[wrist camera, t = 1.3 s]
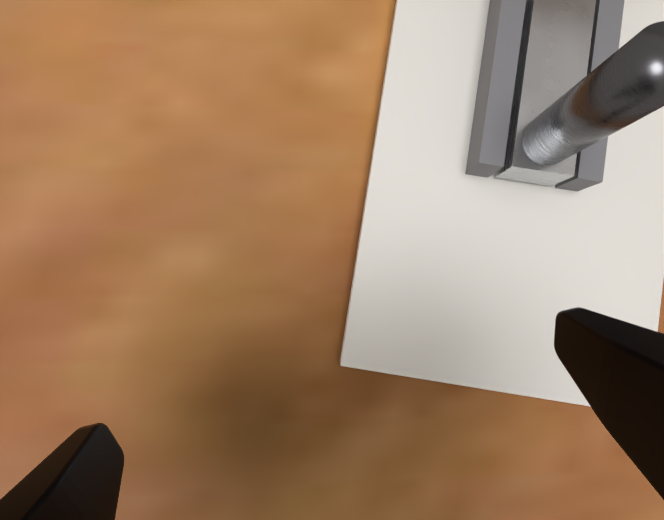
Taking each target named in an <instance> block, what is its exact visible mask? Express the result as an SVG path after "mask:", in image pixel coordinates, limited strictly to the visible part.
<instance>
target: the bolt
mask: <svg viewBox="0 0 664 520" xmlns="http://www.w3.org/2000/svg"><path fill="white" fill-rule="evenodd" d="M595 5H596V0H526V6H525V13H524V20H523V28H522V35H521V42H520V50H519V57H518V64H517V72H516V79H515V87H514V94H513V101H512V109H511V116H510V123H509V131H508V138H507V145H506V153H505V160H504V167H502V168H501V169H499V170H498V171H497V172H495V178H501V179H508V180H514V181H521V182H527V183H533V184H540V185H546V186H553V185H555V184H558V183H560V182H562V181H564V180H566V179H569V178H571V177H573V176H574V173H575V165H576V157H577V153H578V152H580V151H582V150H583V149H585V148H587V147H589V146H591V145H593V144H595V143H596V142H598V141H600V140H602V139H604V138H606V137H608V136H609V135H611V134H613V133H615V132H617V131H619V130H621V129H622V128H624V127H626V126H628V125H630V124H632V123H634V122H635V121H637V120H639V119H641V118H643V117H645V116H647V115H648V114H650V113H652V112H654V111H656V110H658V109H660V108H661V107H663V106H664V21H661V22H656V23H653V24H651V25H649V26H647V27H645V28H644V29H643V30H641V31H640V32H639V33H638V34H637V35H635V36H634V37H633V38H632V39H630V40H629V41H628V42H627V43H626V44H624V45H623V46H622V47H621V48H620V49H618V50H617V51H616V52H615V53H613V54H612V55H611V56H610V57H609V58H607V59H606V60H605V61H604V62H603V63H601V64H600V65H599V66H598V67H596V68H595V69H594V70H593V71H592V72H590V73H589V74H588V75H587V69H588V61H589V53H590V45H591V37H592V29H593V21H594V13H595Z"/></svg>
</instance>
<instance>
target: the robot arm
mask: <svg viewBox="0 0 664 520" xmlns="http://www.w3.org/2000/svg"><path fill="white" fill-rule="evenodd" d="M554 349H555V352H556V354H557V356H558V358H559V359H560V361H561V362H562V364H563V365H564V367H565V368H566V370H567V371H568V373H569V374H570V376H571V377H572V379H573V381H574V382H575V384H576V385H577V387H578V388H579V390H580V391H581V393H582V394H583V396H584V397H585V399H586V400H587V402H588V403H589V405H590V406H591V408H592V409H593V411H594V412H595V414H596V415H597V417H598V418H599V419H600V421H601V422H602V424H603V425H604V426H605V428H606V429H607V430H608V431H609V433H610V434H611V435H612V437H613V438H614V439H615V440H616V442H617V443H618V444H619V445H620V446H621V448H622V449H623V450H624V451H625V453H626V454H627V455H628V456H629V458H630V459H631V460H632V461H633V462H634V464H635V465H636V466H637V467H638V469H639V470H640V471H641V472H642V474H643V475H644V476H645V477H646V479H647V480H648V481H649V482H650V483H651V485H652V486H653V487H654V488H655V490H656V491H657V492H658V493H659V495H660V496H661V497H662V498H663V500H664V334H663V333H660V332H657V331H653V330H650V329H647V328H644V327H641V326H638V325H635V324H631V323H628V322H625V321H622V320H619V319H616V318H613V317H610V316H606V315H603V314H600V313H597V312H594V311H591V310H588V309H584V308H581V307H575V308H571V309H567V310H563V311H560V312H558V314H557V315H556V319H555V333H554ZM123 466H124V454H123V451H122V449H121V447H120V446H119V444H118V442H117V441H116V439H115V438H114V436H113V435H112V433H111V432H110V430H109V428H108V427H107V426H106V425H105V424H103V423H96V424H92V425H88V426H84V427H81V428H79V429H77V430H76V431H75V432H74V433H73V434H72V435H71V436H70V437H68V438H67V439H66V440H65V441H64V442H63V443H62V444H61V445H60V446H59V447H57V448H56V449H55V450H54V451H53V452H52V453H51V454H50V455H49V456H48V457H47V458H45V459H44V460H43V461H42V462H41V463H40V464H39V465H38V466H37V467H36V468H34V469H33V470H32V471H31V472H30V473H29V474H28V475H27V476H26V477H25V478H24V479H22V480H21V481H20V482H19V483H18V484H17V485H16V486H15V487H14V488H13V489H11V490H10V491H9V492H8V493H7V494H6V495H5V496H4V497H3V498H2V499H0V520H115V515H116V509H117V503H118V497H119V491H120V485H121V478H122V472H123Z"/></svg>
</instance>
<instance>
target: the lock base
mask: <svg viewBox="0 0 664 520" xmlns="http://www.w3.org/2000/svg"><path fill="white" fill-rule="evenodd" d="M525 6H526V0H396V4H395V11H394V17H393V23H392V30H391V36H390V43H389V49H388V55H387V62H386V68H385V75H384V81H383V87H382V94H381V100H380V107H379V113H378V119H377V126H376V132H375V139H374V145H373V151H372V158H371V164H370V171H369V177H368V183H367V190H366V196H365V203H364V209H363V215H362V222H361V228H360V235H359V241H358V247H357V254H356V260H355V267H354V273H353V279H352V286H351V292H350V299H349V305H348V311H347V318H346V324H345V331H344V337H343V343H342V350H341V356H340V366H344V367H350V368H357V369H363V370H369V371H375V372H381V373H387V374H394V375H400V376H406V377H412V378H418V379H424V380H431V381H437V382H443V383H449V384H455V385H462V386H468V387H474V388H480V389H486V390H492V391H499V392H505V393H511V394H517V395H523V396H529V397H536V398H542V399H548V400H554V401H560V402H566V403H573V404H579V405H585V406H590V405H589V403H588V402H587V400H586V399H585V397H584V396H583V394H582V393H581V391H580V390H579V388H578V387H577V385H576V384H575V382H574V381H573V379H572V377H571V376H570V374H569V373H568V371H567V370H566V368H565V367H564V365H563V364H562V362H561V361H560V359H559V358H558V356H557V354H556V352H555V349H554V333H555V319H556V315H557V314H558V312H560V311H563V310H567V309H571V308H575V307H581V308H584V309H588V310H591V311H594V312H597V313H600V314H603V315H606V316H610V317H613V318H616V319H619V320H622V321H625V322H628V323H631V324H635V325H638V326H641V327H644V328H647V329H650V330H653V331H657V332H658V323H659V314H660V304H661V295H662V286H663V277H664V106H663V107H661V108H660V109H658V110H656V111H654V112H652V113H650V114H648V115H647V116H645V117H643V118H641V119H639V120H637V121H635V122H634V123H632V124H630V125H628V126H626V127H624V128H622V129H621V130H619V131H617V132H615V133H613V134H611V135H609V136H608V137H606V138H604V139H602V140H600V141H598V142H596V143H595V144H593V145H591V146H589V147H587V148H585V149H583V150H582V151H580V152H578V153H577V157H576V165H575V173H574V176H573V177H571V178H569V179H566V180H564V181H562V182H560V183H558V184H555V185H553V186H546V185H540V184H533V183H527V182H521V181H514V180H508V179H501V178H495V172H497V171H498V170H499V169H501V168H502V167H504V160H505V153H506V145H507V138H508V131H509V123H510V116H511V109H512V101H513V94H514V87H515V79H516V72H517V64H518V57H519V50H520V42H521V35H522V28H523V20H524V13H525ZM661 21H664V0H596V5H595V13H594V21H593V29H592V37H591V45H590V53H589V61H588V69H587V75H588V74H589V73H590V72H592V71H593V70H594V69H595V68H596V67H598V66H599V65H600V64H601V63H603V62H604V61H605V60H606V59H607V58H609V57H610V56H611V55H612V54H613V53H615V52H616V51H617V50H618V49H620V48H621V47H622V46H623V45H624V44H626V43H627V42H628V41H629V40H630V39H632V38H633V37H634V36H635V35H637V34H638V33H639V32H640V31H641V30H643V29H644V28H645V27H647V26H649V25H651V24H653V23H656V22H661Z"/></svg>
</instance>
